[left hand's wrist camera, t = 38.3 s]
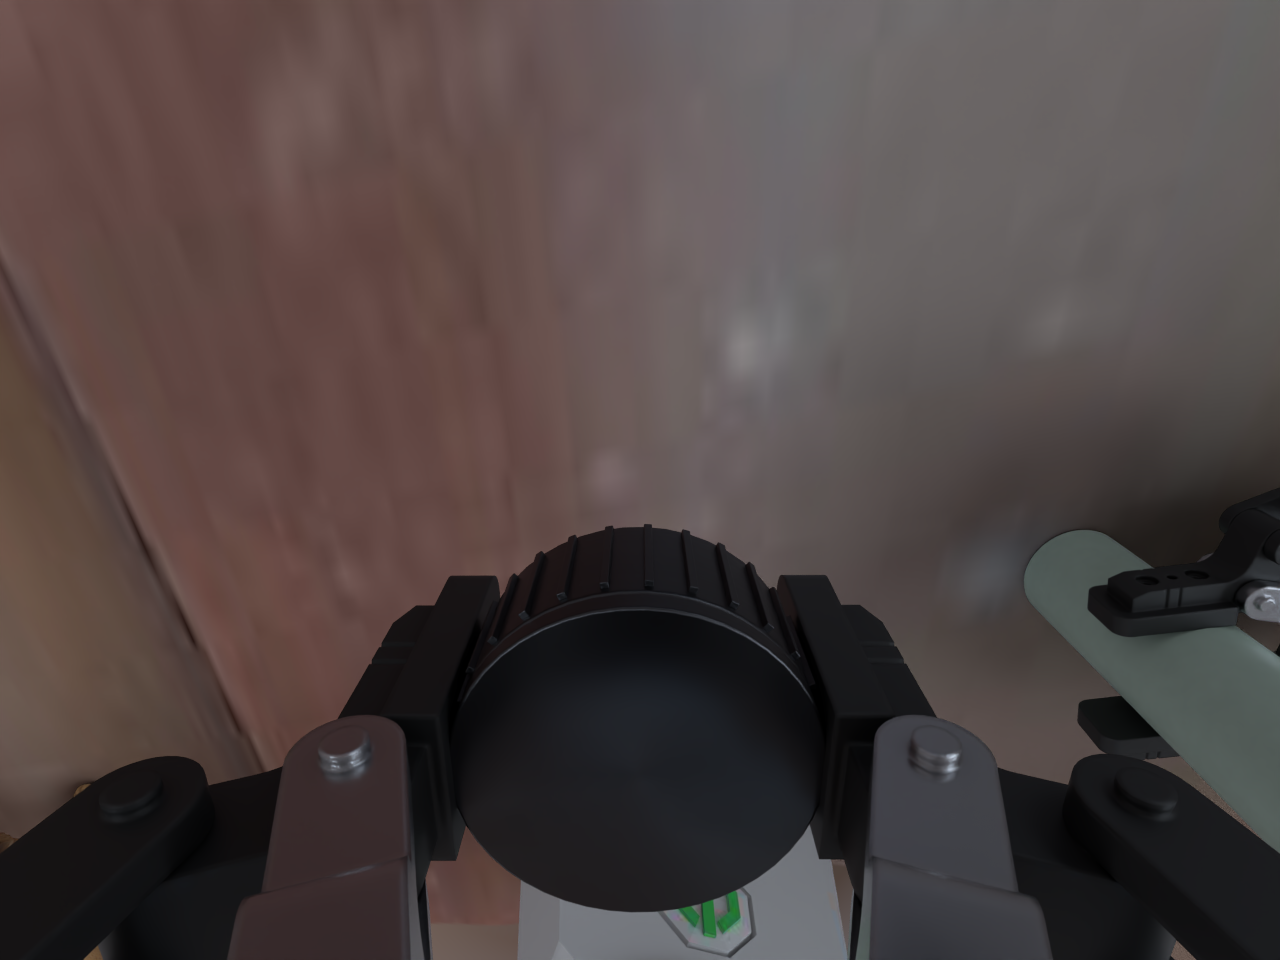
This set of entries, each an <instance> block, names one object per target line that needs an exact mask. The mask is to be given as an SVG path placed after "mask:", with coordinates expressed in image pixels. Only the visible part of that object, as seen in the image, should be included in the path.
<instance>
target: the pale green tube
mask: <svg viewBox="0 0 1280 960" xmlns="http://www.w3.org/2000/svg"><path fill="white" fill-rule="evenodd" d="M1148 568H1153V567H1152V566H1150V565H1149V564H1147V563H1146V562H1144V561H1143V560H1142V559H1140V558H1139V557H1137V556H1136V555H1135V554H1133V553H1132V552H1130V551H1129V550H1128V549H1126V548H1125V547H1123V546H1122V545H1120V544H1119V543H1118V542H1116V541H1115V540H1113V539H1112V538H1110V537H1109V536H1107V535H1105V534H1103V533H1101V532H1097V531H1092V530H1076V531H1071V532H1067V533H1064V534H1061V535H1059V536H1057V537H1055V538H1053V539H1051V540H1050V541H1048V542H1047V543H1045V544H1044V545H1043V546H1042V547H1041V548H1040V549H1039V550H1038V551H1037V552H1036V553H1035V554H1034V556H1033V557H1032V558H1031V560H1030V562H1029V564H1028V566H1027V568H1026V571H1025V575H1024V589H1025V593H1026V596H1027V598H1028V600H1029V602H1030V603H1031V604H1032V605H1033V607H1034V608H1035V609H1036V610H1037V611H1038V612H1039V613H1040V614H1041V615H1042V616H1043V617H1044V618H1045V619H1046V620H1047V621H1048V622H1049V623H1050V624H1051V625H1052V626H1053V627H1054V628H1055V629H1056V630H1057V631H1058V632H1059V633H1060V634H1061V635H1062V636H1063V637H1064V638H1065V639H1066V640H1067V641H1068V642H1069V643H1070V644H1071V645H1072V646H1073V647H1074V648H1075V649H1076V650H1077V651H1078V652H1079V653H1080V654H1081V655H1082V656H1083V657H1084V658H1085V659H1086V660H1087V661H1088V662H1089V663H1090V665H1091V666H1092V667H1093V668H1094V669H1095V670H1096V671H1097V672H1098V673H1099V674H1100V675H1101V676H1102V677H1103V678H1104V679H1105V680H1106V681H1107V682H1108V683H1109V684H1110V685H1111V686H1112V687H1113V688H1114V689H1115V690H1116V691H1117V692H1118V693H1119V694H1120V695H1121V696H1122V697H1123V698H1124V699H1125V700H1126V701H1127V702H1128V703H1129V704H1130V705H1131V706H1132V707H1133V708H1134V709H1135V710H1136V711H1137V712H1138V713H1139V714H1140V715H1141V716H1142V717H1143V718H1144V719H1145V720H1146V721H1147V722H1148V724H1149V725H1150V726H1151V727H1152V728H1153V729H1154V730H1155V731H1156V732H1157V733H1158V734H1159V735H1160V736H1161V737H1162V738H1163V739H1164V740H1165V741H1166V742H1167V743H1168V744H1169V745H1170V746H1171V747H1172V748H1173V749H1174V750H1175V751H1176V752H1177V753H1178V754H1179V755H1180V756H1181V757H1182V758H1183V759H1184V760H1185V761H1186V762H1187V763H1188V764H1189V765H1190V766H1191V767H1192V768H1193V769H1194V770H1195V771H1196V772H1197V773H1198V774H1199V775H1200V776H1201V777H1202V778H1203V779H1204V780H1205V781H1206V783H1207V784H1208V785H1209V786H1210V787H1211V788H1212V789H1213V790H1214V791H1215V792H1216V793H1217V794H1218V795H1219V796H1220V797H1221V798H1222V799H1223V800H1224V801H1225V802H1226V803H1227V804H1228V805H1229V806H1230V807H1231V808H1232V809H1233V810H1234V811H1235V812H1236V813H1237V814H1238V815H1239V816H1240V817H1241V818H1242V819H1243V820H1244V821H1245V822H1246V823H1247V824H1248V825H1249V826H1250V827H1251V828H1252V829H1253V830H1254V831H1255V832H1256V833H1257V834H1258V835H1259V836H1260V837H1261V838H1262V839H1263V840H1264V842H1266V843H1267V844H1268V845H1269V846H1271V847H1272V848H1273V849H1275V850H1276V851H1277V852H1279V853H1280V657H1279V656H1277V655H1276V654H1274V653H1273V652H1272V651H1270V650H1269V649H1267V648H1266V647H1265V646H1263V645H1262V644H1260V643H1259V642H1257V641H1256V640H1255V639H1253V638H1252V637H1250V636H1249V635H1248V634H1246V633H1245V632H1243V631H1242V630H1241V629H1239V628H1238V627H1236V626H1226V627H1218V628H1206V629H1200V630H1192V631H1183V632H1174V633H1165V634H1157V635H1148V636H1139V637H1124V636H1119V635H1116V634H1114V633H1112V632H1111V631H1110V630H1109V629H1108V628H1106V627H1105V626H1104V625H1103V624H1102V623H1101V622H1100V621H1099V620H1098V619H1097V618H1096V617H1095V616H1094V615H1093V614H1091V613H1090V612H1089V611H1088V609H1087V604H1088V593H1089V589H1090V588H1091V587H1093V586H1098V585H1107V584H1108V578H1110V577H1112V576H1114V575H1117V574H1119V573H1121V572H1123V571H1131V570H1143V569H1148ZM1153 569H1154V568H1153Z"/></svg>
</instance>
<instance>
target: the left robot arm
mask: <svg viewBox="0 0 1280 960" xmlns="http://www.w3.org/2000/svg"><path fill="white" fill-rule="evenodd" d="M777 592H778V595H779V598H780V601H781V604H782V606H783V609H784V612H785V615H786V616H789V615H790V616H791V618H792V621H793V624H794V626H795V629H796V632H797V634H798V637H799V640H800V642H801V645H802V648H803V651H804V653H805V656H806V659H807V661H808V664H809V667H810V669H811V672H812V675H813V677H814V680H815V683H816V686H817V688H818V690H816V691H813V692H812V694H813V696H814V700H815V702H816V705H817V708H818V710H819V713H820V716H821V719H822V723H823V727H824V731H825V735H826V747H825V758H824V767H823V777H822V786H821V795H820V802H819V806H818V808H817V811H816V813H815V815H814V818H813V819H812V821H811V823H810V828H811V831H812V835H813V839H814V843H815V846H816V850H817V854H818V857H819V859H844V861H845V864H846V867H847V870H848V874H849V877H850V880H851V883H852V886H853V894H852V900H851V911H850V926H849V940H848V954H847V960H1174V959H1173V958H1172V957H1171V953H1172V950H1173V948H1174V945H1175V942H1176V940H1177V941H1178V942H1179V943H1180V944H1181V945H1182V946H1183V947H1184V948H1185V949H1186V950H1187V951H1188V952H1189V953H1190V954H1191V955H1192V956H1193V957H1194V958H1195V959H1196V960H1280V853H1279V852H1277V851H1276V850H1275V849H1273V848H1272V847H1271V846H1269V845H1268V844H1267V843H1266V842H1264V841H1263V840H1262V839H1260V838H1259V837H1258V836H1256V835H1255V834H1254V833H1252V832H1251V831H1250V830H1249V829H1247V828H1246V827H1245V826H1243V825H1242V824H1241V823H1239V822H1238V821H1237V820H1235V819H1234V818H1233V817H1232V816H1230V815H1229V814H1228V813H1226V812H1225V811H1224V810H1222V809H1221V808H1220V807H1218V806H1217V805H1216V804H1214V803H1213V802H1212V801H1211V800H1209V799H1208V798H1207V797H1205V796H1204V795H1203V794H1201V793H1200V792H1199V791H1197V790H1196V789H1195V788H1194V787H1192V786H1191V785H1189V784H1188V783H1187V782H1185V781H1184V780H1182V779H1181V778H1179V777H1178V776H1176V775H1174V774H1172V773H1171V772H1169V771H1167V770H1165V769H1163V768H1160V767H1158V766H1156V765H1154V764H1151V763H1148V762H1146V761H1143V760H1139V759H1136V758H1133V757H1128V756H1123V755H1115V754H1097V755H1091V756H1088V757H1085V758H1083V759H1081V760H1080V761H1078V762H1077V764H1076V765H1075V766H1074V768H1073V771H1072V774H1071V777H1070V781H1069V785H1066V784H1062V783H1057V782H1053V781H1049V780H1044V779H1040V778H1035V777H1031V776H1027V775H1022V774H1018V773H1014V772H1010V771H1007V770H1003V769H1001V768H998V767H997V764H996V760H995V758H994V756H993V754H992V752H991V751H990V750H989V748H988V747H987V746H986V745H985V744H984V743H983V742H982V741H981V740H980V739H979V738H978V737H976V736H975V735H974V734H972V733H971V732H969V731H968V730H966V729H964V728H963V727H961V726H959V725H956V724H954V723H952V722H949V721H946V720H943V719H940V718H937V717H936V715H935V713H934V712H933V710H932V708H931V706H930V705H929V703H928V701H927V699H926V698H925V696H924V694H923V692H922V691H921V689H920V687H919V685H918V684H917V682H916V680H915V678H914V677H913V675H912V673H911V671H910V670H909V668H908V666H907V664H904V659H903V657H902V656H901V654H900V652H899V650H898V649H897V647H894V642H893V640H892V638H891V636H890V635H889V633H888V631H887V629H886V628H885V626H884V624H883V622H881V621H880V620H879V619H878V618H876V617H875V616H874V615H872V614H871V613H870V612H868V611H867V610H866V609H864V608H863V607H862V606H860V605H841V604H840V602H839V599H838V597H837V595H836V593H835V591H834V589H833V587H832V585H831V583H830V581H829V579H828V578H827V576H826V575H781V576H780V577H779V580H778V585H777ZM493 600H494V601H497V602H499V600H500V591H499V583H498V579H497V577H496V576H450V577H449V578H448V580H447V582H446V584H445V586H444V588H443V590H442V592H441V594H440V596H439V598H438V600H437V602H436V604H435V606H415V607H414V608H412V609H411V610H410V611H408V612H407V613H406V614H404V615H403V616H402V617H401V618H399V619H398V620H397V621H395V622H394V623H393V624H392V626H391V628H390V629H389V631H388V633H387V635H386V636H385V638H384V640H383V642H382V646H381V647H379V648H378V650H377V652H376V654H375V655H374V657H373V659H372V664H369V666H368V667H367V669H366V671H365V673H364V674H363V676H362V678H361V679H360V681H359V683H358V685H357V686H356V688H355V690H354V692H353V693H352V695H351V697H350V698H349V700H348V702H347V704H346V705H345V707H344V709H343V710H342V712H341V714H340V716H339V717H338V719H337V720H334V721H331V722H328V723H326V724H324V725H321V726H319V727H317V728H316V729H314V730H312V731H311V732H309V733H308V734H306V735H305V736H304V737H302V738H301V739H300V740H299V741H298V742H297V743H296V744H295V745H294V746H293V747H292V748H291V750H290V751H289V752H288V754H287V756H286V758H285V760H284V764H283V766H282V767H280V768H277V769H274V770H271V771H268V772H265V773H261V774H257V775H253V776H248V777H244V778H240V779H235V780H231V781H226V782H222V783H218V784H213V785H209V786H208V782H207V779H206V775H205V772H204V769H203V768H202V767H201V765H200V764H199V763H197V762H196V761H194V760H192V759H189V758H186V757H179V756H164V757H155V758H151V759H146V760H142V761H139V762H135V763H132V764H129V765H127V766H124V767H122V768H119V769H117V770H115V771H113V772H111V773H109V774H107V775H105V776H103V777H102V778H100V779H98V780H97V781H95V782H94V783H92V784H91V785H89V786H88V787H86V788H85V789H84V790H83V791H81V792H80V793H79V794H77V795H76V796H75V797H73V798H72V799H71V800H69V801H68V802H67V803H65V804H64V805H63V806H62V807H60V808H59V809H58V810H56V811H55V812H54V813H52V814H51V815H50V816H48V817H47V818H46V819H45V820H43V821H42V822H41V823H39V824H38V825H37V826H35V827H34V828H33V829H31V830H30V831H29V832H28V833H26V834H25V835H24V836H22V837H21V838H20V839H18V840H17V841H16V842H14V843H13V844H12V845H11V846H9V847H8V848H7V849H5V850H4V851H3V852H1V853H0V960H83V959H85V958H86V957H87V956H88V955H89V954H90V953H91V952H92V951H93V950H94V949H95V948H96V947H97V946H98V947H99V950H100V953H101V955H102V958H103V960H433V954H432V940H431V926H430V911H429V900H428V893H427V886H426V879H425V877H426V874H427V871H428V868H429V864H430V861H456V859H457V855H458V852H459V848H460V844H461V841H462V837H463V834H464V830H465V826H466V824H465V822H464V820H463V818H462V816H461V814H460V812H459V810H458V808H457V806H456V799H455V792H454V783H453V774H452V765H451V755H450V744H449V739H450V732H451V726H452V723H453V721H454V718H455V715H456V712H457V709H458V705H457V699H458V697H459V694H460V691H461V689H462V686H463V683H464V680H465V678H466V675H467V673H465V671H466V669H467V666H468V663H469V661H470V658H471V655H472V653H473V650H474V648H475V645H476V642H477V640H478V637H479V634H480V632H481V629H482V626H483V624H484V621H485V618H486V616H487V613H488V611H489V608H490V605H491V603H492V602H493Z"/></svg>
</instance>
